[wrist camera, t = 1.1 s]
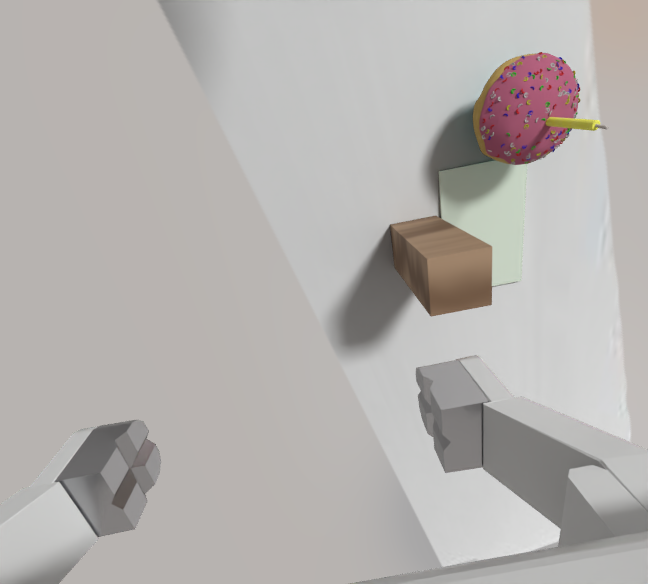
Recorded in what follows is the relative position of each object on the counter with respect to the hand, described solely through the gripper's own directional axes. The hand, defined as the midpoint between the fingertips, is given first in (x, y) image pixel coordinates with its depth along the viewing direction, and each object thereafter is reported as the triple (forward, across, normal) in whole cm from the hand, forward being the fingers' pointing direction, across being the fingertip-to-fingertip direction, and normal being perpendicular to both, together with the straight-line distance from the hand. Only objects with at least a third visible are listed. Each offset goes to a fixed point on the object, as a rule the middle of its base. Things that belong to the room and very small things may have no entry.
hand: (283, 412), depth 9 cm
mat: (+30, -19, +6) cm, 36 cm away
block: (+30, -12, +6) cm, 32 cm away
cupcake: (+30, -21, -5) cm, 37 cm away
